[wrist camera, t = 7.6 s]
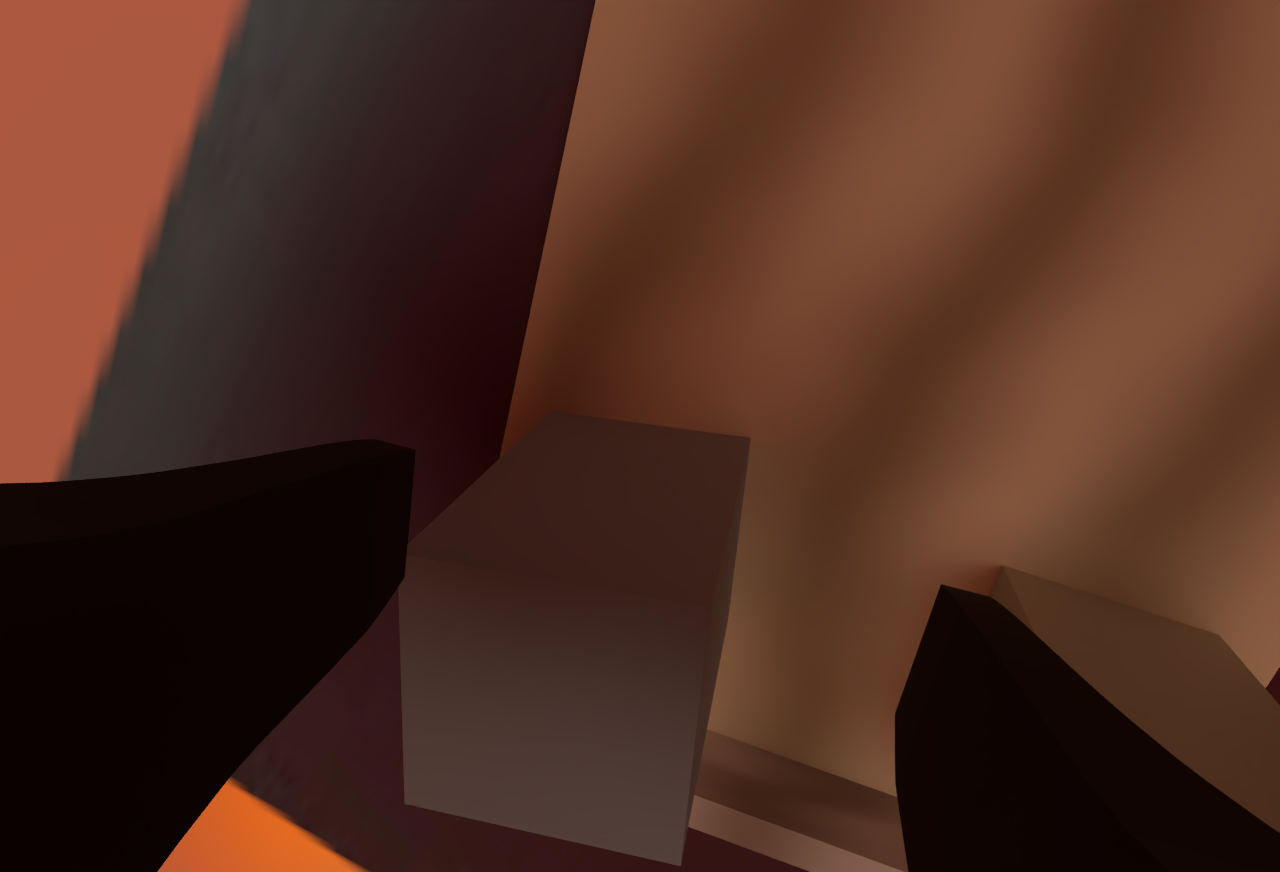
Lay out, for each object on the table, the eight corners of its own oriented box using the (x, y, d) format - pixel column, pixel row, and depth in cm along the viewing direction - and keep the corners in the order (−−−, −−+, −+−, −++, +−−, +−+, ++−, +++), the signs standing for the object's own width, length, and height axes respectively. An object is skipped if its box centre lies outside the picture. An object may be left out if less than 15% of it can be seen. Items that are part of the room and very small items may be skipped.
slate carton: (727, 625, 21) (679, 875, 14) (544, 593, 22) (404, 812, 15) (751, 437, 19) (710, 607, 12) (550, 411, 20) (397, 553, 13)
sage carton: (1218, 634, 19) (1486, 946, 11) (1115, 802, 20) (1286, 1165, 13) (1002, 565, 19) (1121, 819, 12) (921, 734, 21) (978, 1046, 14)
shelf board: (1645, 24, 15) (1894, -18, 11) (1098, 880, 23) (1149, 1008, 19) (656, -207, 17) (614, -302, 13) (469, 655, 25) (413, 734, 21)
